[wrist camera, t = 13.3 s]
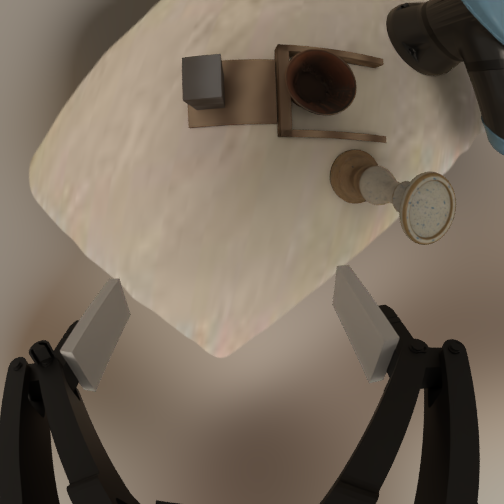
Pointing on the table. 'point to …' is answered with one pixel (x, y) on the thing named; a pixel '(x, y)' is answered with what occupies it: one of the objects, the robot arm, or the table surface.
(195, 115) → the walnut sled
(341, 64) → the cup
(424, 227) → the candle holder
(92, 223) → the table surface
